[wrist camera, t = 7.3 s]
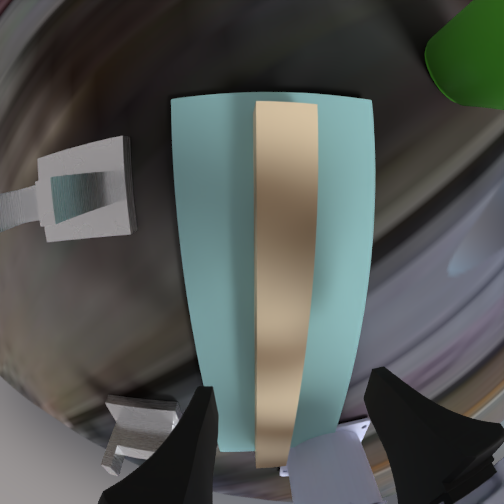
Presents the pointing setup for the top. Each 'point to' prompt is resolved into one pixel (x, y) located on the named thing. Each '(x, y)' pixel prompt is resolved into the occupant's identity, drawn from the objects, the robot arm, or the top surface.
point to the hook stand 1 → (78, 193)
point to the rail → (282, 266)
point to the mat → (242, 252)
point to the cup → (470, 56)
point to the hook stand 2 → (138, 428)
